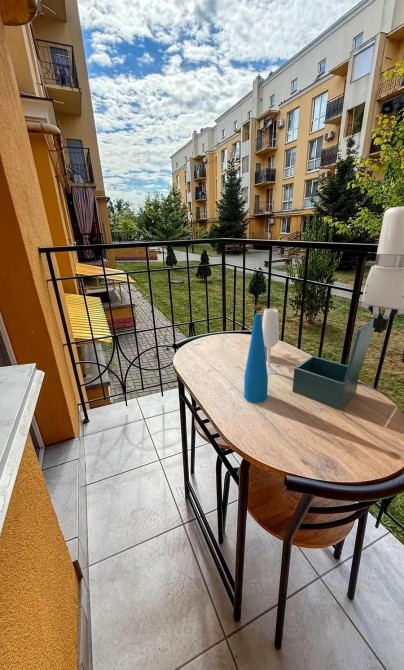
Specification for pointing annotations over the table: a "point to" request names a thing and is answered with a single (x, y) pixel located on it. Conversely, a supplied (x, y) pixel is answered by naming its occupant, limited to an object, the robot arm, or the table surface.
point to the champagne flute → (270, 334)
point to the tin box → (324, 382)
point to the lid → (359, 350)
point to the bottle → (256, 364)
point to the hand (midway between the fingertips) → (378, 331)
